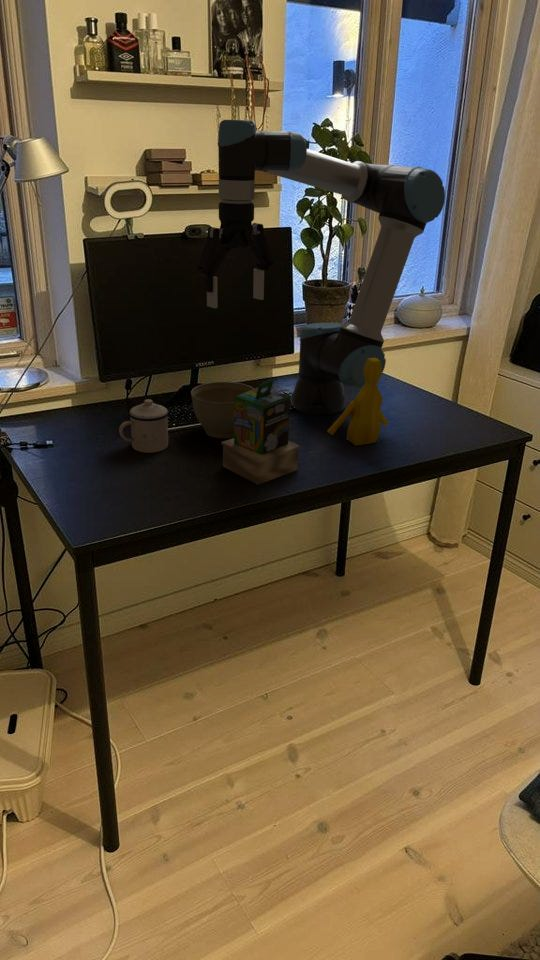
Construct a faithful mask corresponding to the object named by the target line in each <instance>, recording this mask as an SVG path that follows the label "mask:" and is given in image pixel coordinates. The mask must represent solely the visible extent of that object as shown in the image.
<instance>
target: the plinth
mask: <svg viewBox="0 0 540 960" xmlns="http://www.w3.org/2000/svg"><path fill="white" fill-rule="evenodd" d="M220 445H221V446H222V457H223V458H222V467H223V468H226V469H227V470H229V471H231V472H233V473H235V474H236V475H239V476H241V477H242V478H244V479H245V480H246V479H247V480H248V481H250V482H252V483H254V484H255V485H261V484H263V483H266V482H269V481H272V480H274V479H277V478H280V477H283V476H285V475H288V474H291V473H293V472H297V471H298V466H299V465H298V464H299V450H300V449H301V447H302V446H301V445H299V444H298V443H295V442H292V441H290V440H288V444H286V445H284V446H281V447H279V448H277V449H274V450H272V451H270V452H267V453H265V454H264V455H262V454H260V453H258V452H255V451H253V450H250V449H247V448H245V447H242V446H240V445H237V444H234V438H228V439H226V440H224V441H221V443H220Z"/></svg>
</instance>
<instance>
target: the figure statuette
mask: <svg viewBox="0 0 540 960" xmlns="http://www.w3.org/2000/svg"><path fill="white" fill-rule="evenodd" d="M363 373H364V378H365V384H364V386H363V387H362V388H360V389H359V391H358V393H357V394H356V396H355V398H353V400H351V401H350V402H349V403H348V405H347V406H346V408H345V409H344V410H343V411H342V414H341V415H340V416H339V417H338V418H337V419H336V420H335V421H334V422H333V423H332V425H331V426H330V427H329V428H328V429H327V430H326V431H327V432H328V434H330V435H332V436H333V435H334V434H335V433H336V431H337V430H338V429H339V428H340V427H341V426H342V424H344V422H345V421H346V420H347V419H348V417H349V416H350V421H349V424H348V427H347V432H346V433H347V434H346V440H347V441H348V442H350V443H351V444H352V445H354V446H362V445H368V444H369V445H370V444H374V443H377V441H378V438H379V437H380V433H381V424H382V425H383V426H384V427H387V426H388V424H389V422H388V420H387V418H386V417H385V415H384V414H383V412H382V411H381V407H382V404H383V395H382V394H381V392H380V390H379V388H378V383H379V380H380V379H381V376H382V375H383V373H382V365H381V361H380V360H378V359H377V358H375V357H374V358H368V359H367V361H366V364H365V366H364V370H363Z"/></svg>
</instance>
